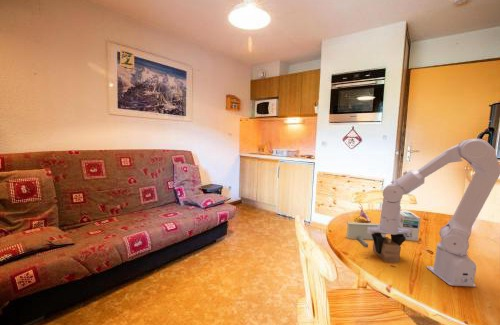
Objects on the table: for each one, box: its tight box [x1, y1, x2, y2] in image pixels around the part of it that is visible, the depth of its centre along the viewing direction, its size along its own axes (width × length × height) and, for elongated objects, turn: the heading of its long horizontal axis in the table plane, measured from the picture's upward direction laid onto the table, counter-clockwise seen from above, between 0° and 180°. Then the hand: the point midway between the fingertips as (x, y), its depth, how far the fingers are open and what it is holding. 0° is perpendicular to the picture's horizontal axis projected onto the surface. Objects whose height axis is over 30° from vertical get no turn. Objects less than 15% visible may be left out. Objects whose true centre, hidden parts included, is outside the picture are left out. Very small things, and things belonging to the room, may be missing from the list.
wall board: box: [346, 221, 387, 248], centre depth 94 cm, size 9×16×7 cm, turn 90°
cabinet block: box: [372, 236, 402, 264], centre depth 83 cm, size 8×5×7 cm, turn 0°
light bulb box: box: [398, 209, 422, 242], centre depth 102 cm, size 11×7×11 cm, turn 168°
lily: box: [354, 203, 371, 223], centre depth 117 cm, size 12×12×10 cm
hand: (385, 252), depth 83 cm, fingers closed on cabinet block, 5 cm apart
